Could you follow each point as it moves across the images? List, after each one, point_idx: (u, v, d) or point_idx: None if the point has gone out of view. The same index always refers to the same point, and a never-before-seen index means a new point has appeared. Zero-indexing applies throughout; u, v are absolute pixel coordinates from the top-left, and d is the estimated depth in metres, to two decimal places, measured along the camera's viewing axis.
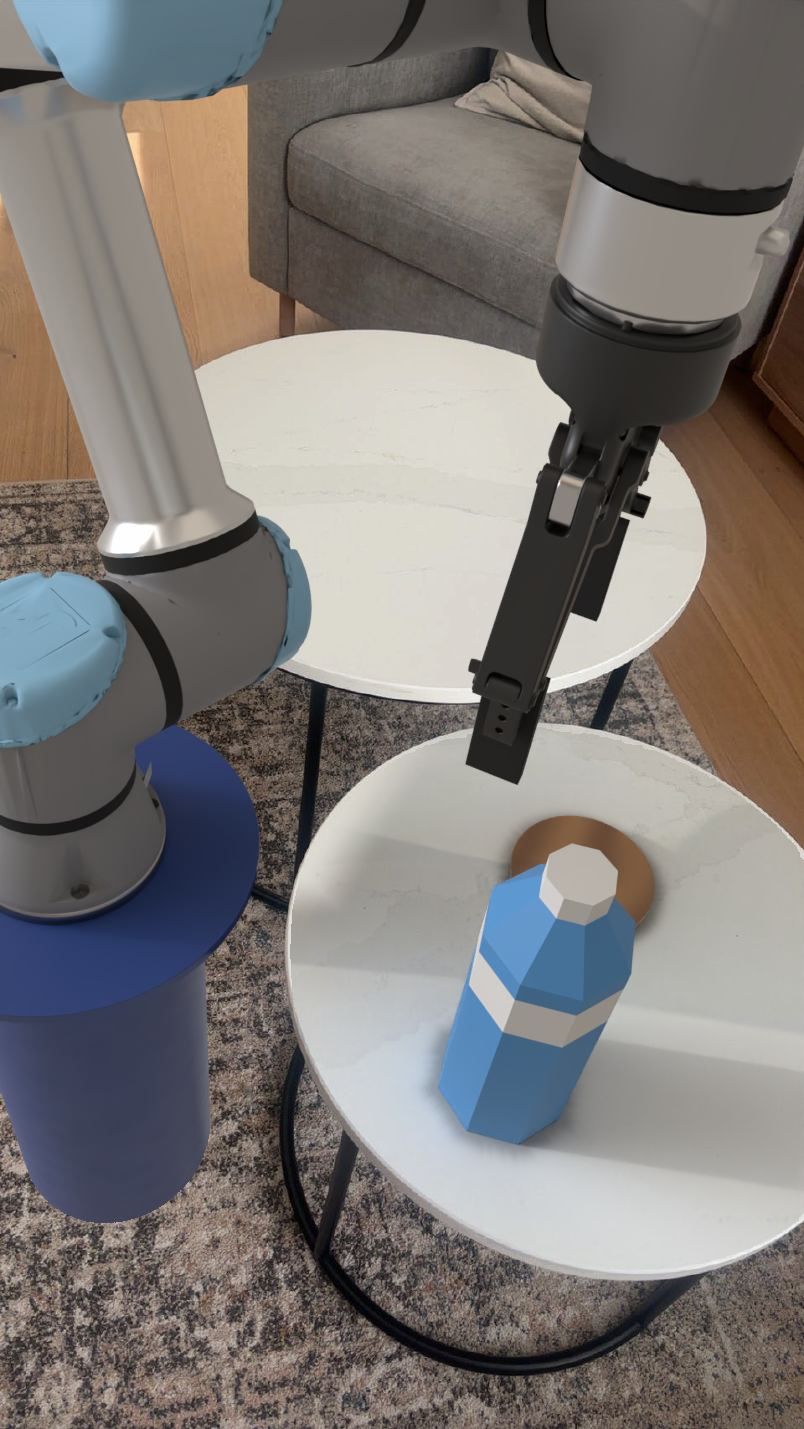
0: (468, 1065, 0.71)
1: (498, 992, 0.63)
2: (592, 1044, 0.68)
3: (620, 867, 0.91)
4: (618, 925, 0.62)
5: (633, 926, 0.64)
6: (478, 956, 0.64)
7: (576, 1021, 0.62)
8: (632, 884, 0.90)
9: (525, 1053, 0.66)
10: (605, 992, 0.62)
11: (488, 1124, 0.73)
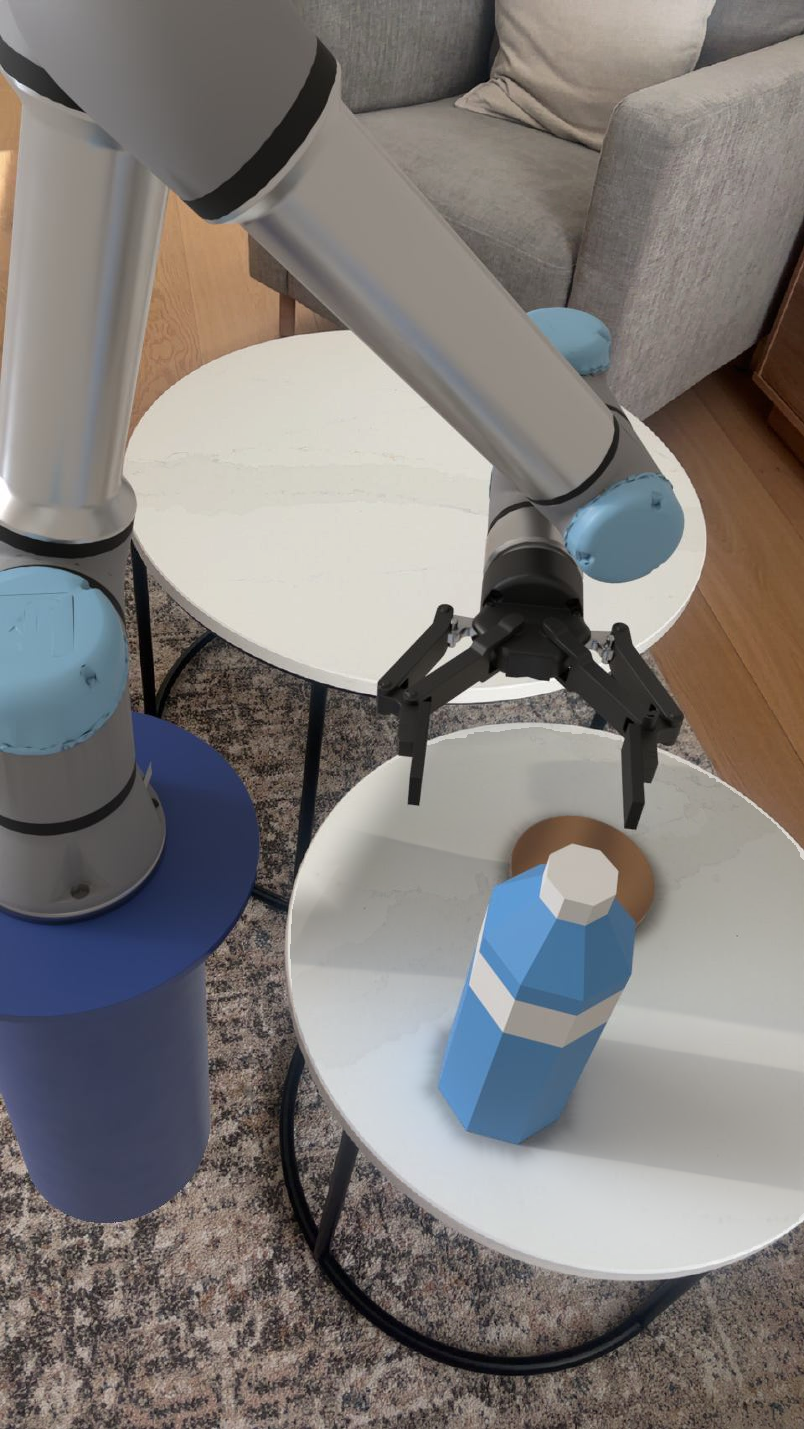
0: (468, 1065, 0.71)
1: (499, 992, 0.63)
2: (592, 1044, 0.68)
3: (620, 867, 0.91)
4: (619, 926, 0.62)
5: (633, 926, 0.64)
6: (478, 956, 0.64)
7: (576, 1021, 0.62)
8: (632, 884, 0.90)
9: (525, 1053, 0.66)
10: (605, 992, 0.62)
11: (488, 1124, 0.73)
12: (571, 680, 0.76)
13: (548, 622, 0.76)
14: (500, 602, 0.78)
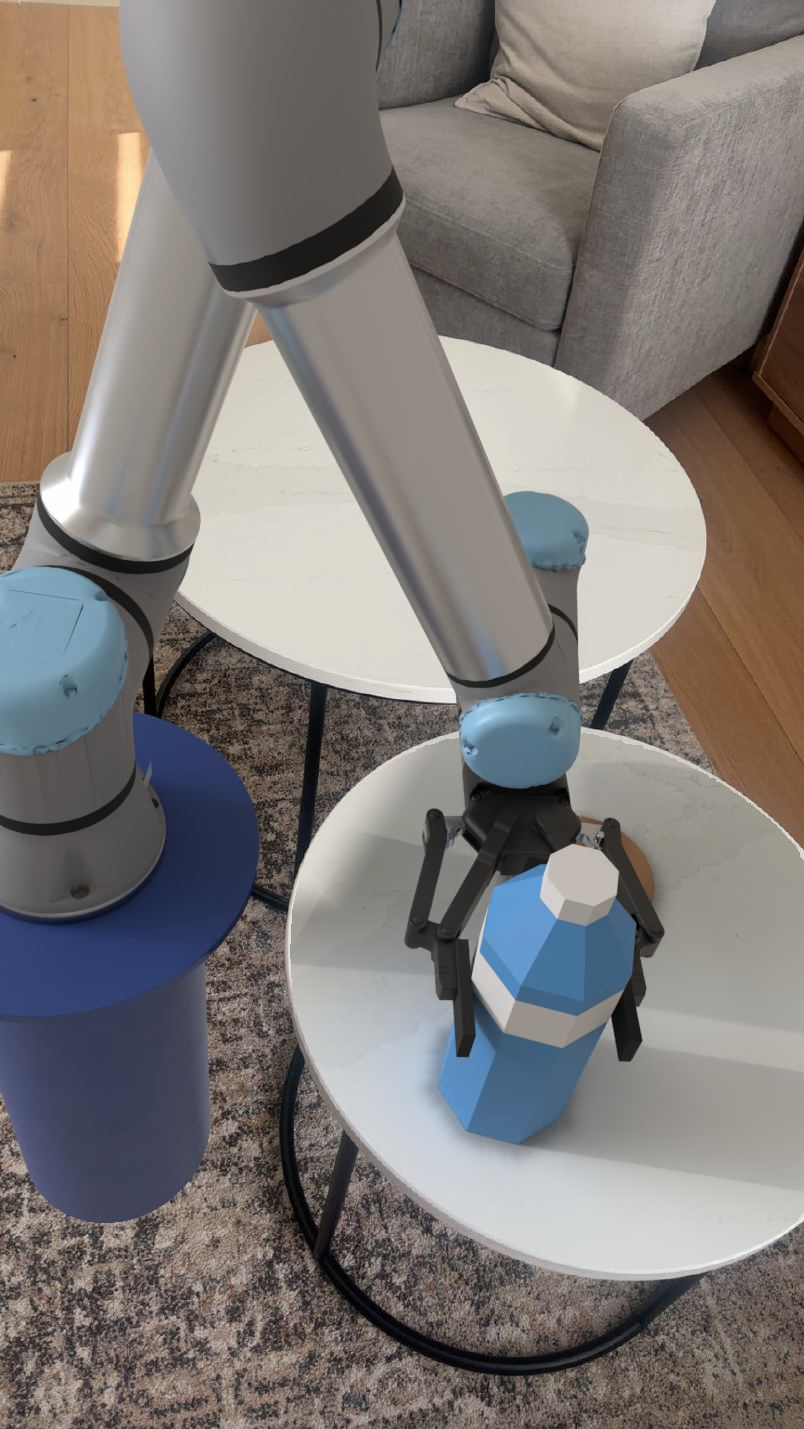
0: (469, 1065, 0.71)
1: (499, 992, 0.63)
2: (592, 1044, 0.68)
3: None
4: (619, 926, 0.62)
5: (633, 926, 0.64)
6: (479, 956, 0.64)
7: (577, 1022, 0.62)
8: None
9: (525, 1053, 0.66)
10: (606, 992, 0.62)
11: (488, 1124, 0.73)
12: None
13: (541, 817, 0.75)
14: (487, 794, 0.77)
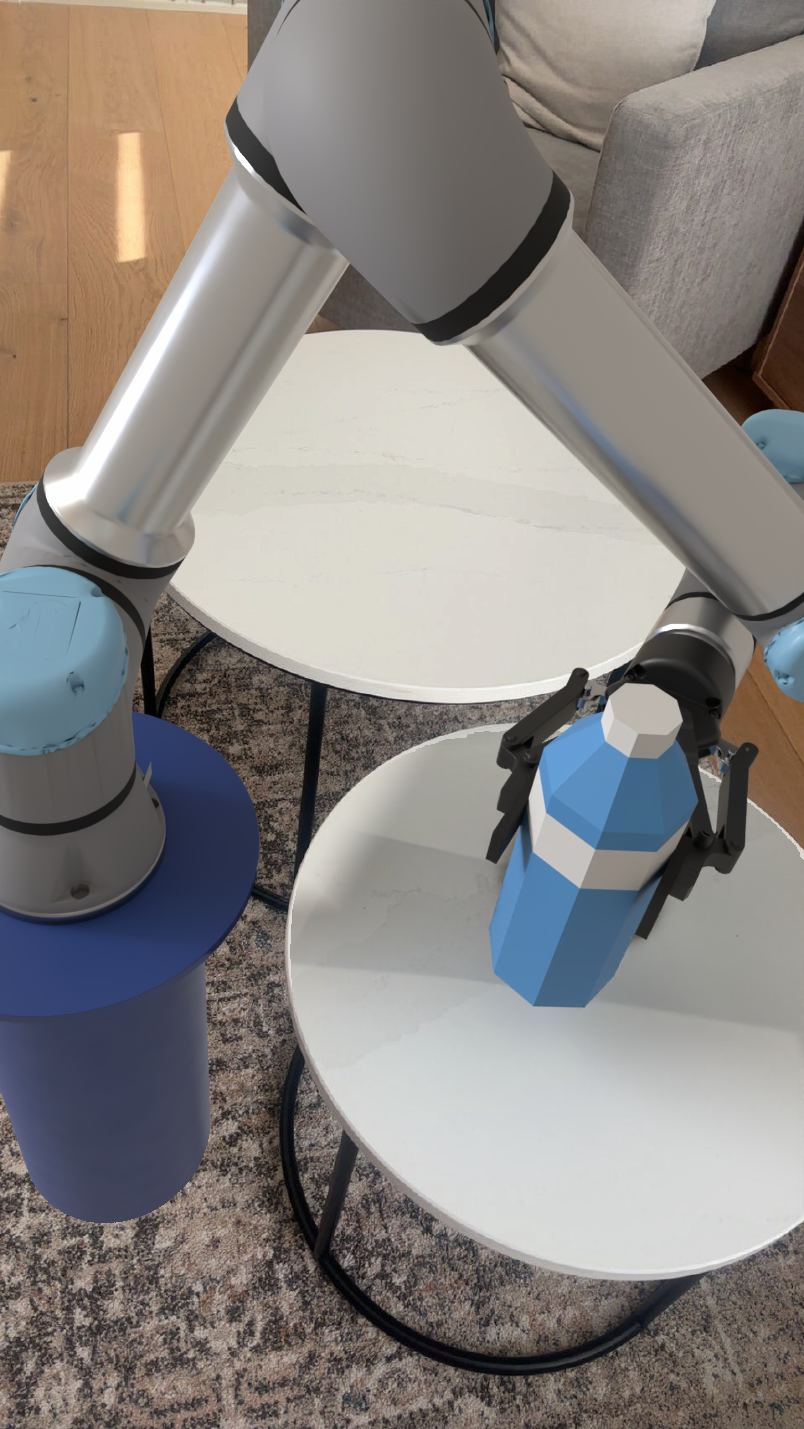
0: (509, 897, 0.72)
1: (539, 807, 0.65)
2: (620, 915, 0.67)
3: None
4: (669, 782, 0.61)
5: (692, 801, 0.62)
6: (537, 771, 0.66)
7: (596, 860, 0.62)
8: None
9: (548, 885, 0.66)
10: (631, 839, 0.61)
11: (511, 970, 0.74)
12: None
13: None
14: (641, 679, 0.77)
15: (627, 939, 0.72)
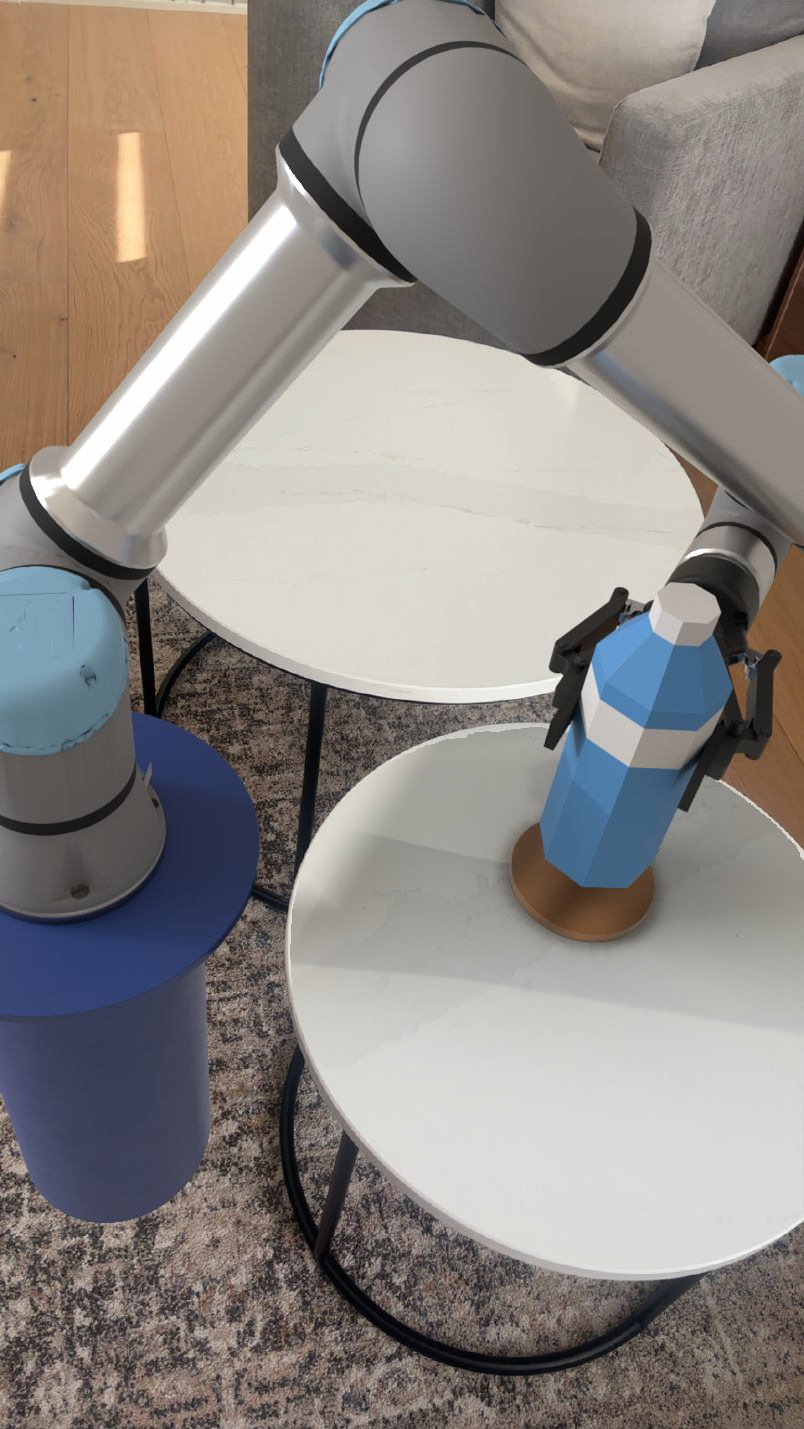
0: (561, 786, 0.81)
1: (592, 697, 0.74)
2: (663, 794, 0.76)
3: None
4: (709, 668, 0.70)
5: (727, 687, 0.71)
6: (589, 667, 0.75)
7: (644, 739, 0.71)
8: (632, 884, 0.90)
9: (600, 768, 0.75)
10: (676, 719, 0.70)
11: (562, 854, 0.83)
12: None
13: None
14: None
15: (666, 823, 0.81)
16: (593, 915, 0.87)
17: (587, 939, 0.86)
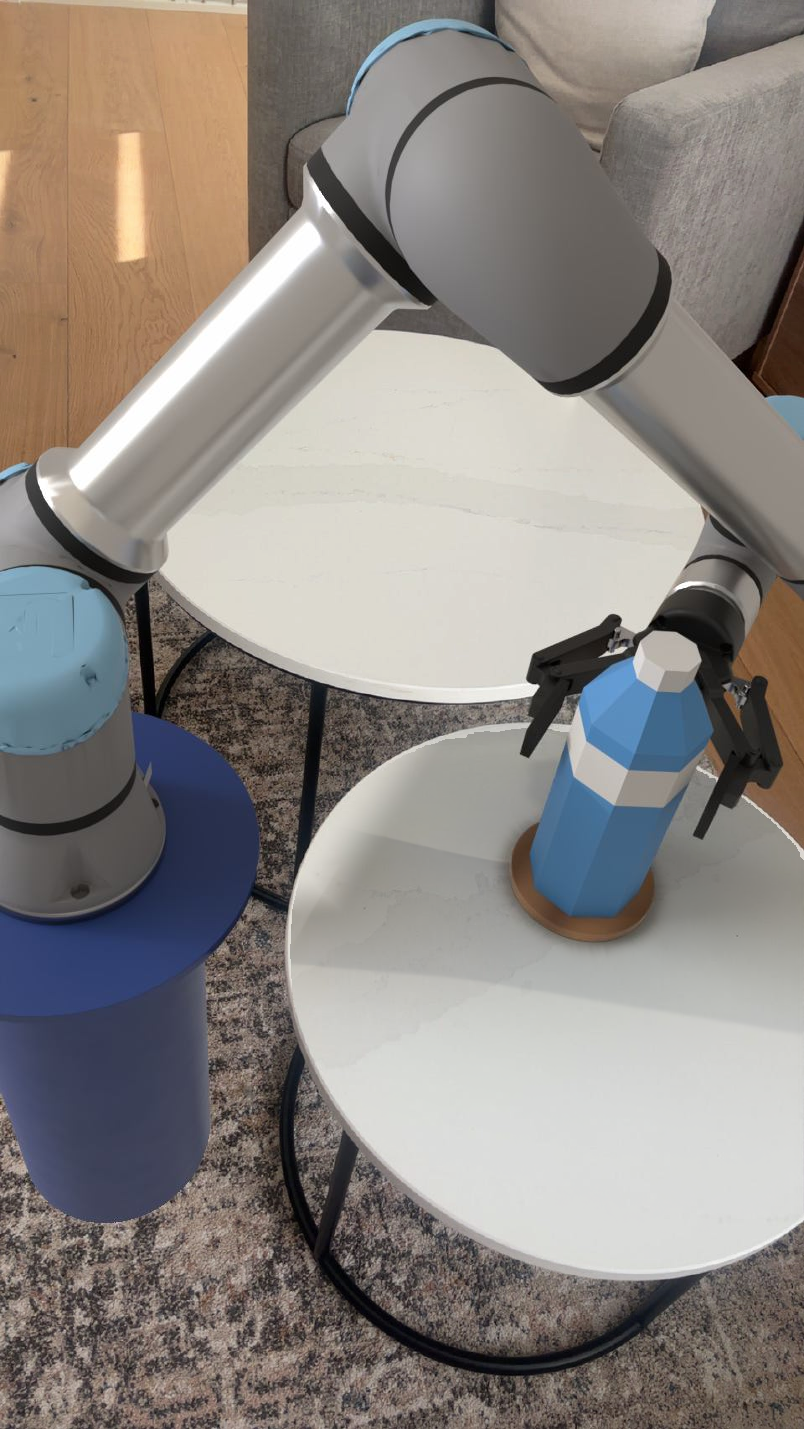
0: (550, 820, 0.84)
1: (579, 738, 0.77)
2: (647, 830, 0.79)
3: None
4: (690, 713, 0.73)
5: (708, 729, 0.75)
6: (577, 709, 0.78)
7: (628, 779, 0.75)
8: None
9: (586, 805, 0.79)
10: (658, 761, 0.73)
11: (551, 886, 0.86)
12: None
13: None
14: (664, 628, 0.89)
15: (651, 856, 0.84)
16: None
17: (587, 939, 0.86)
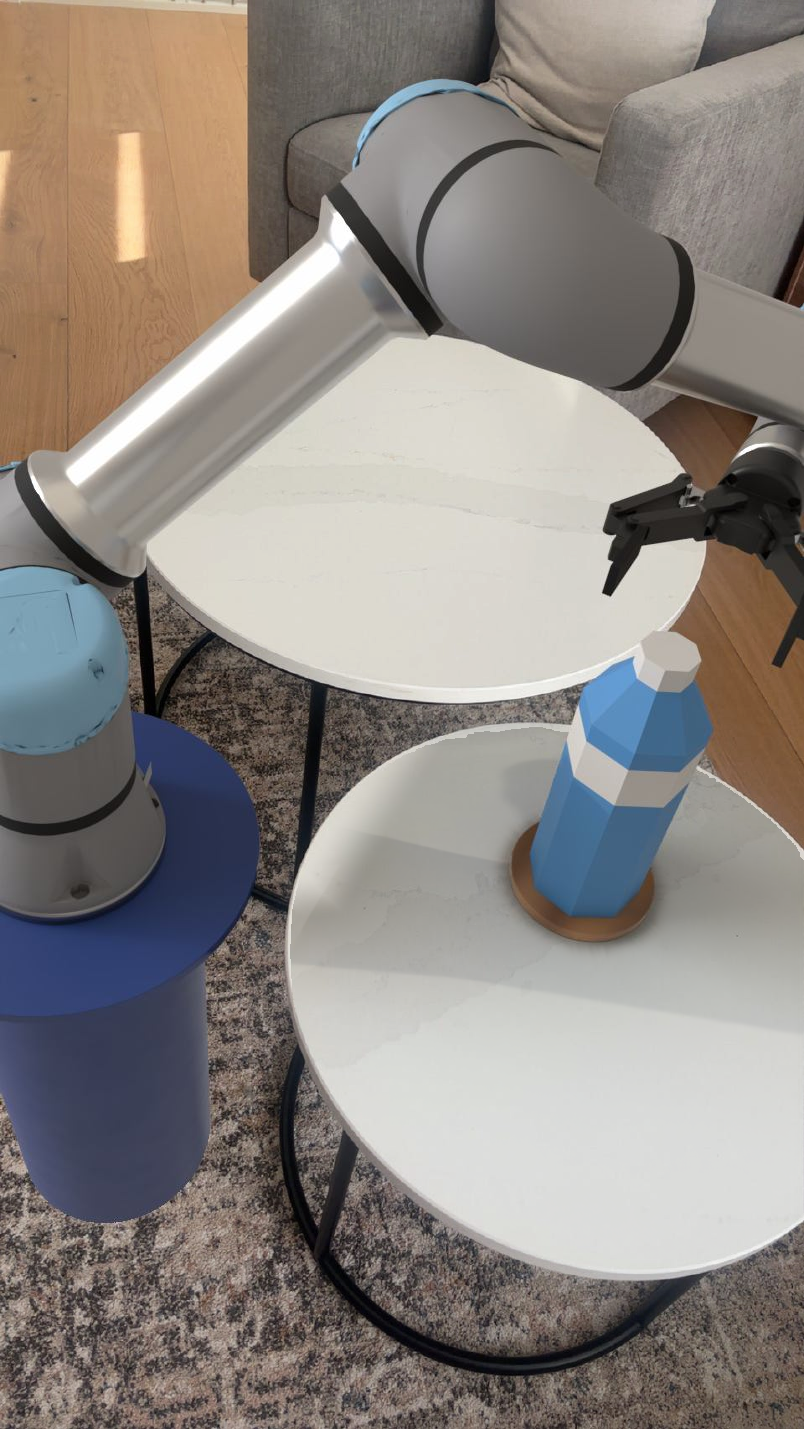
0: (550, 820, 0.84)
1: (579, 738, 0.77)
2: (647, 830, 0.79)
3: None
4: (690, 713, 0.73)
5: (708, 729, 0.75)
6: (577, 709, 0.78)
7: (628, 779, 0.75)
8: None
9: (587, 805, 0.79)
10: (658, 761, 0.73)
11: (551, 886, 0.86)
12: (770, 558, 0.89)
13: (767, 507, 0.89)
14: (733, 486, 0.92)
15: (651, 856, 0.84)
16: None
17: (587, 939, 0.86)
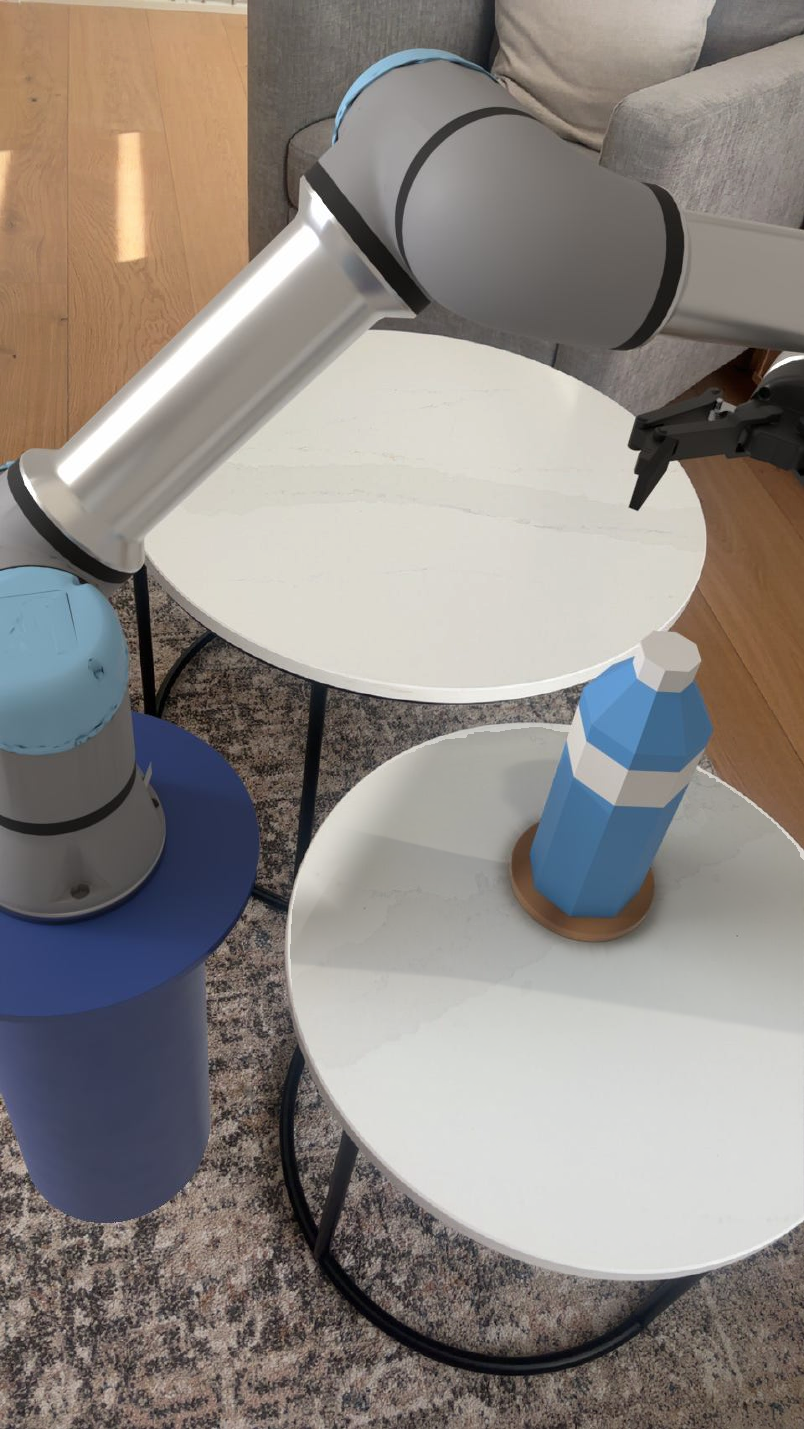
0: (550, 820, 0.84)
1: (579, 738, 0.77)
2: (647, 830, 0.79)
3: None
4: (690, 713, 0.73)
5: (708, 729, 0.75)
6: (577, 709, 0.78)
7: (628, 779, 0.75)
8: None
9: (587, 805, 0.79)
10: (658, 761, 0.73)
11: (551, 886, 0.86)
12: None
13: None
14: (766, 401, 0.87)
15: (651, 856, 0.84)
16: None
17: (587, 939, 0.86)
